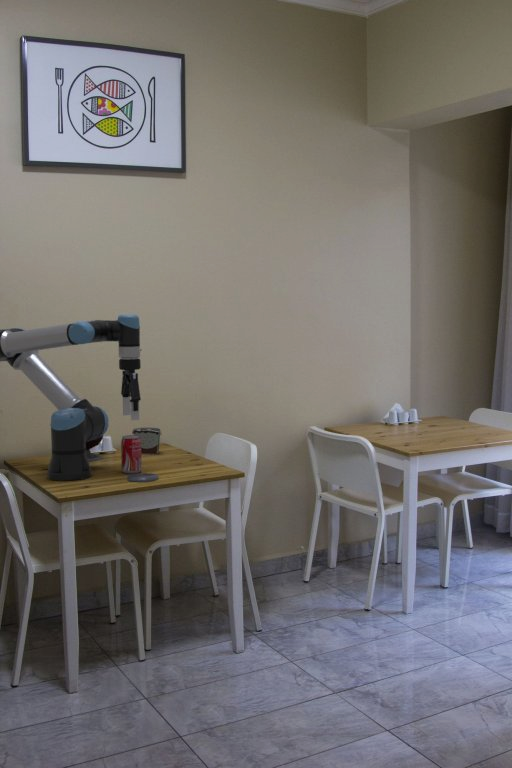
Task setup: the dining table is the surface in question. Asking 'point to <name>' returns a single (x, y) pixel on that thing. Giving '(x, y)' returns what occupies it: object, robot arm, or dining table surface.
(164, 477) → the dining table surface
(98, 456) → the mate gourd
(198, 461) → the dining table surface
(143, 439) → the food container
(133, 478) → the slate coaster
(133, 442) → the soda can
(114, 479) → the dining table surface
